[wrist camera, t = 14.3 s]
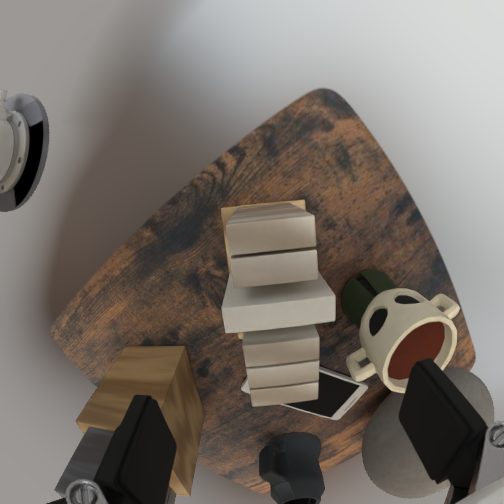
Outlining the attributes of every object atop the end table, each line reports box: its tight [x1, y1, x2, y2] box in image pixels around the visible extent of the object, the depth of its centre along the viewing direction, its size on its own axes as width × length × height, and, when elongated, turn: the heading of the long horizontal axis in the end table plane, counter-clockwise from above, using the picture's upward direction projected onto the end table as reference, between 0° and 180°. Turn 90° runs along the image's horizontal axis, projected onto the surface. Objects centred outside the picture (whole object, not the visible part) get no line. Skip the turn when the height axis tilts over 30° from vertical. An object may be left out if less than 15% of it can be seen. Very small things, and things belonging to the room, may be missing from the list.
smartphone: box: [241, 366, 368, 420], centre depth 32 cm, size 7×15×1 cm, turn 62°
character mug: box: [341, 269, 460, 393], centre depth 23 cm, size 11×7×13 cm, turn 123°
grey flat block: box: [221, 270, 335, 333], centre depth 22 cm, size 2×7×11 cm, turn 96°
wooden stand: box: [55, 346, 205, 504], centre depth 22 cm, size 12×8×22 cm, turn 6°
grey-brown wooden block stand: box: [221, 199, 319, 407], centre depth 23 cm, size 14×8×12 cm, turn 6°
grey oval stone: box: [362, 367, 494, 498], centre depth 24 cm, size 18×7×19 cm, turn 132°
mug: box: [259, 432, 325, 504], centre depth 30 cm, size 12×9×11 cm
